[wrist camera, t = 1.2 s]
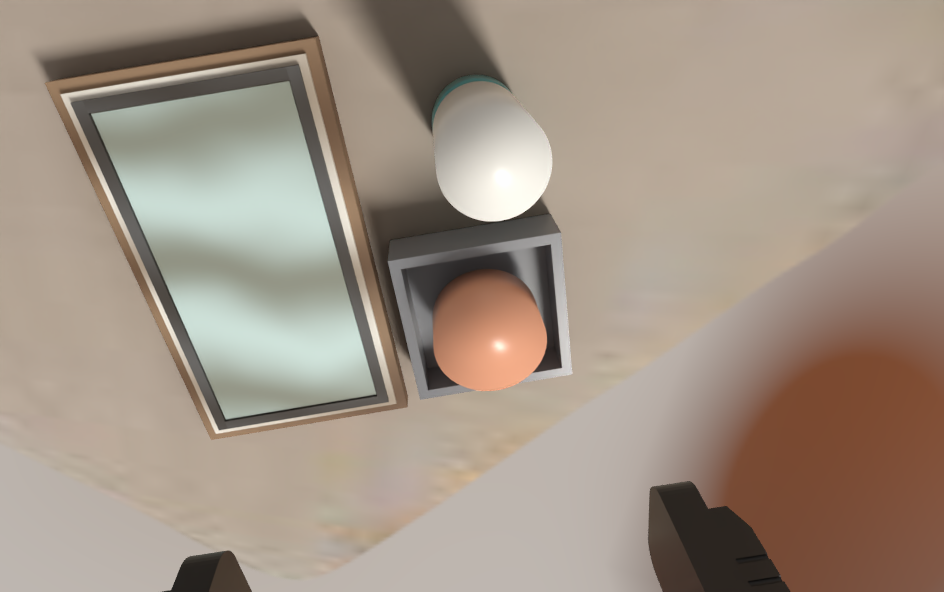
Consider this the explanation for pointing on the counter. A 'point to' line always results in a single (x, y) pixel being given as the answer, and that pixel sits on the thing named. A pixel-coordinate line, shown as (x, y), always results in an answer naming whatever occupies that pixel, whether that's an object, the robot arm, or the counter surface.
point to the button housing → (479, 247)
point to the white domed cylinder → (488, 150)
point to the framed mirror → (242, 231)
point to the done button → (487, 330)
